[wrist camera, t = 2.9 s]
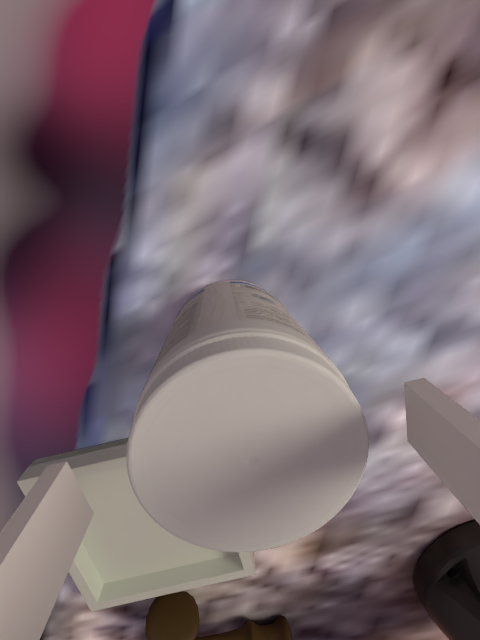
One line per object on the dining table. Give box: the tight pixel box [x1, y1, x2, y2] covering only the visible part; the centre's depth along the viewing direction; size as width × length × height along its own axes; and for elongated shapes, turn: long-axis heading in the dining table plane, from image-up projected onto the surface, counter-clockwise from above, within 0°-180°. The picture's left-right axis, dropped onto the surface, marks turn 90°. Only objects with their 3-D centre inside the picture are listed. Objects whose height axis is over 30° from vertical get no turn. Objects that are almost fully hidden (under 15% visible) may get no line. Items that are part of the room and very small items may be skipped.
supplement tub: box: [126, 280, 369, 552], centre depth 18 cm, size 10×10×15 cm
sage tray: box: [17, 438, 256, 611], centre depth 29 cm, size 17×17×2 cm
